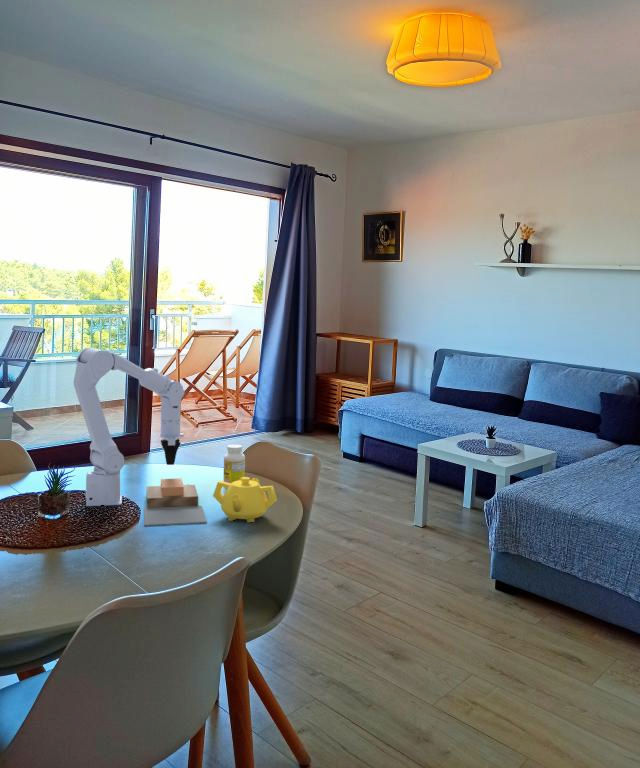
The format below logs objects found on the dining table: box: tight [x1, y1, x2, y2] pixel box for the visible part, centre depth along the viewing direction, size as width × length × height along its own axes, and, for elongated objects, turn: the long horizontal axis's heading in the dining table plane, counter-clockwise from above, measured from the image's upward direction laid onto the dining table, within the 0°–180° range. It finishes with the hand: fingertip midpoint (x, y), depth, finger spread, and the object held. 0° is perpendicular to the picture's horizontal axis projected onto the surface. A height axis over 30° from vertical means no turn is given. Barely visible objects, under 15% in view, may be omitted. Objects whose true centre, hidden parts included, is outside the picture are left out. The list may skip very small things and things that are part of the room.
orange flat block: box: [160, 478, 184, 496], centre depth 200 cm, size 6×9×2 cm, turn 15°
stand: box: [146, 484, 199, 508], centre depth 200 cm, size 14×12×3 cm
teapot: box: [212, 476, 278, 523], centre depth 188 cm, size 20×18×11 cm
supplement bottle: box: [223, 444, 246, 483], centre depth 218 cm, size 7×7×13 cm
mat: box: [143, 505, 208, 527], centre depth 188 cm, size 16×14×1 cm
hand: (170, 463), depth 210 cm, fingers closed
